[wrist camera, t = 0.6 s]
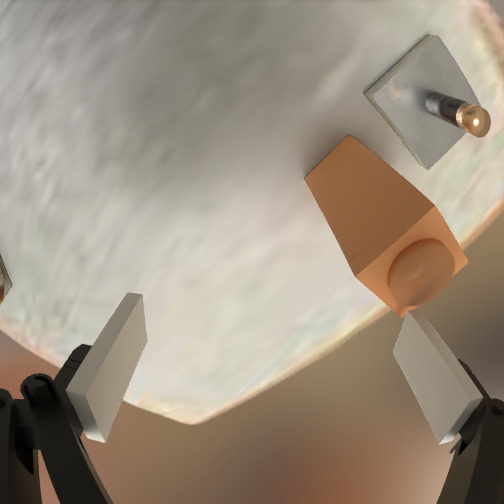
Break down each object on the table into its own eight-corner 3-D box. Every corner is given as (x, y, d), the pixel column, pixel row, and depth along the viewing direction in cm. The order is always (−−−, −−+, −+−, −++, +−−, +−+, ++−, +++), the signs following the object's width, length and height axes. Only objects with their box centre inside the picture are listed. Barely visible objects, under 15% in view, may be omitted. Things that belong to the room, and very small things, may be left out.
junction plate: (363, 93, 20) (410, 112, 14) (427, 35, 17) (485, 39, 11) (419, 163, 23) (465, 201, 18) (474, 109, 20) (528, 133, 14)
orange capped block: (304, 178, 24) (360, 287, 13) (349, 134, 22) (444, 214, 11) (343, 215, 26) (407, 328, 15) (385, 176, 24) (475, 270, 13)
